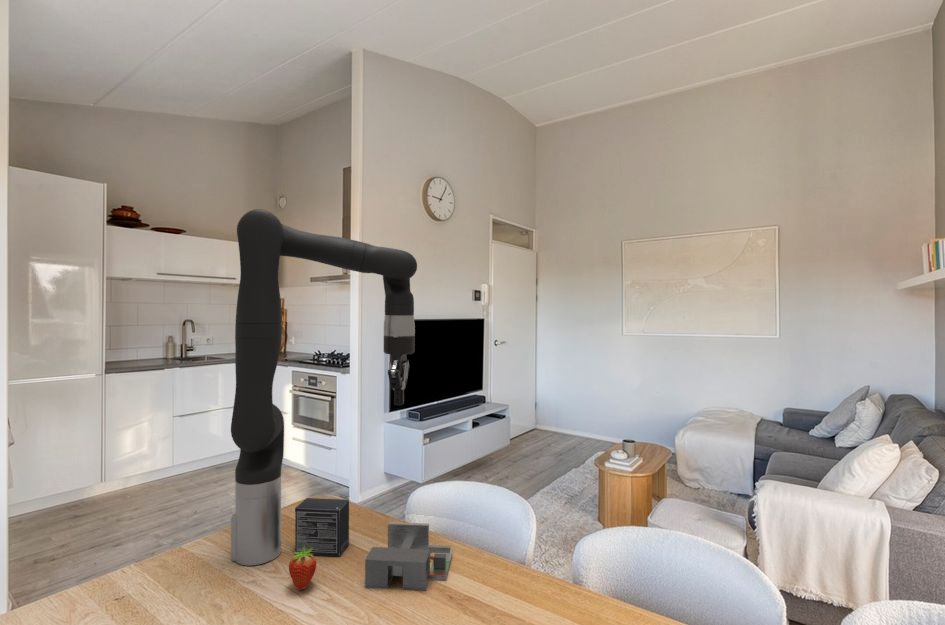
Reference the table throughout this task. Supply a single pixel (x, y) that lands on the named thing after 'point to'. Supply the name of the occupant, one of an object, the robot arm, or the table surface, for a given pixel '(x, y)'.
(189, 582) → the table surface
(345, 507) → the small box
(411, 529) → the push plate
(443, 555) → the block
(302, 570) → the fruit
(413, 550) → the gauge base
